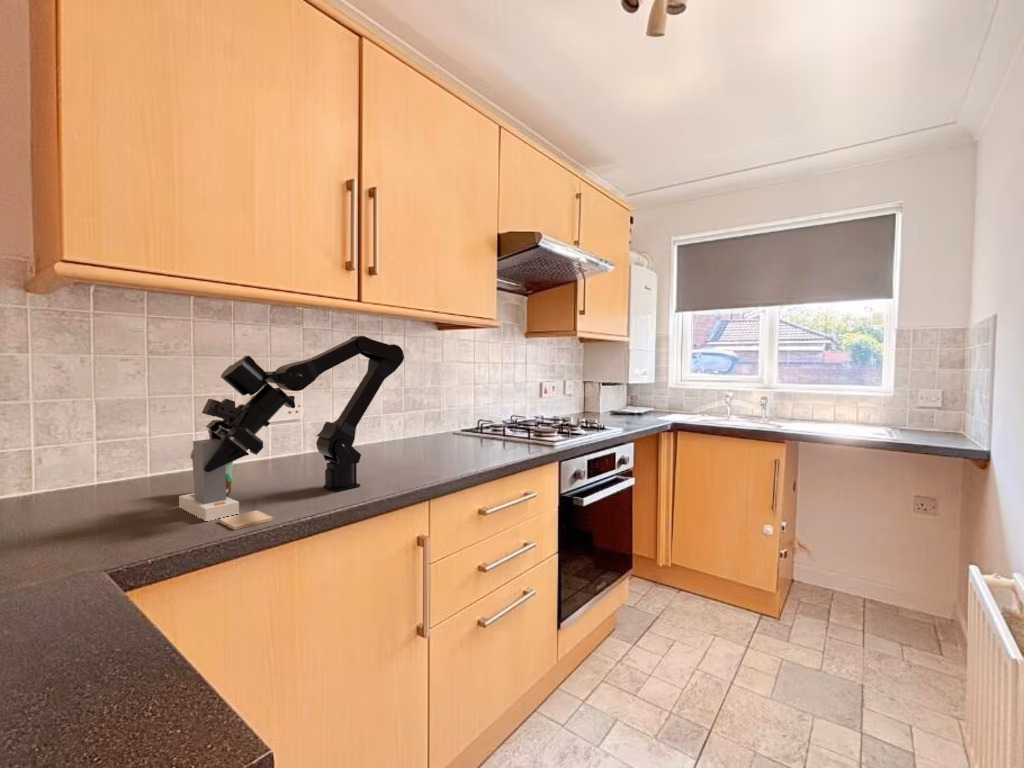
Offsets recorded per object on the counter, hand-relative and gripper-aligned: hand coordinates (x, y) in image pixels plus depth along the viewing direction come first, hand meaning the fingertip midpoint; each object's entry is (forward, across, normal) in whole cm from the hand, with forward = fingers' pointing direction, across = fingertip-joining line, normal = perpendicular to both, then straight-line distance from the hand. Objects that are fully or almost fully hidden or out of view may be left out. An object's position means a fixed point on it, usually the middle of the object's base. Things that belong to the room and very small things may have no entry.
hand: (201, 468), depth 98 cm
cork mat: (+3, +11, +10) cm, 15 cm away
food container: (+2, -15, +12) cm, 19 cm away
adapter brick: (+4, 0, +6) cm, 7 cm away
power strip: (+6, -3, +7) cm, 10 cm away
